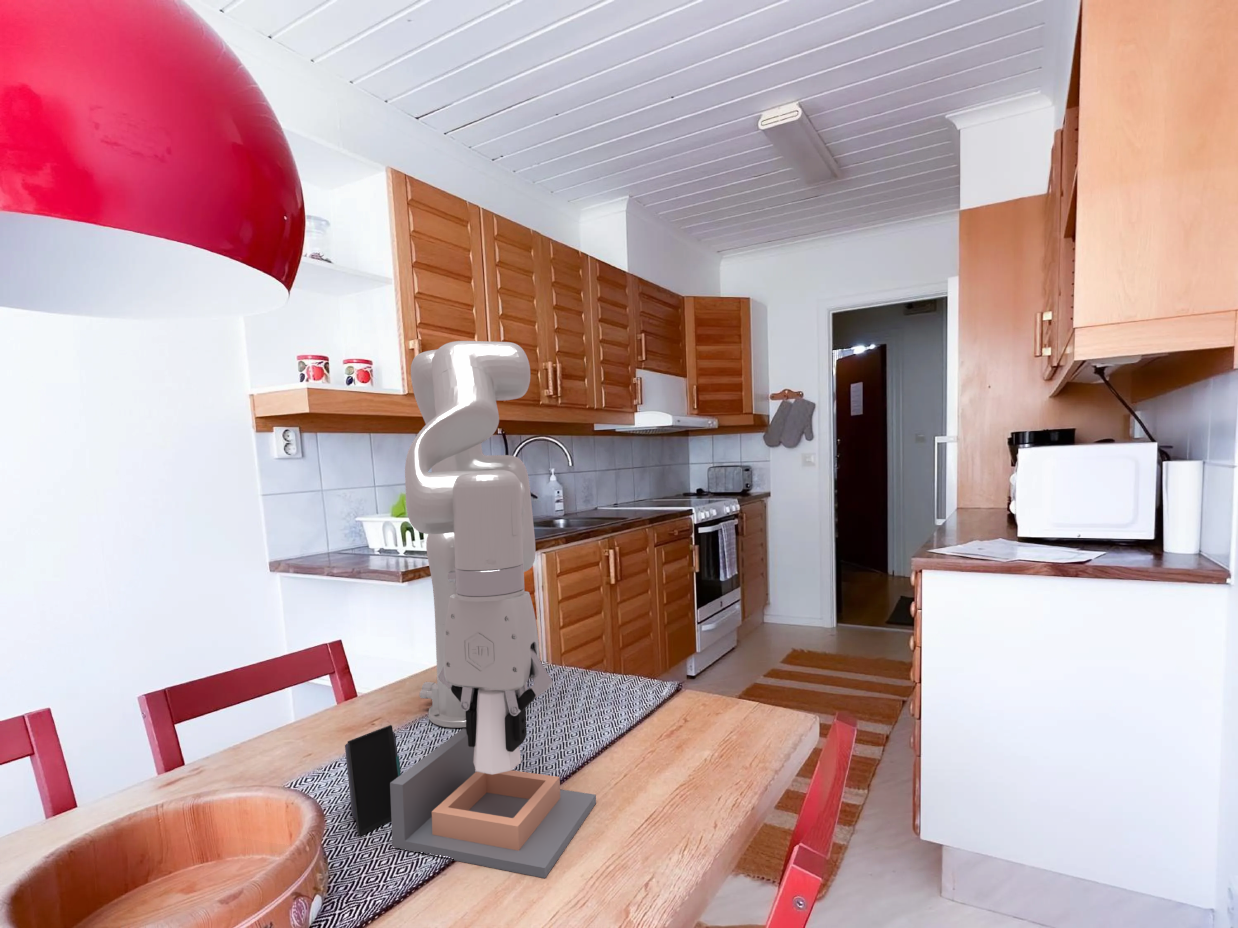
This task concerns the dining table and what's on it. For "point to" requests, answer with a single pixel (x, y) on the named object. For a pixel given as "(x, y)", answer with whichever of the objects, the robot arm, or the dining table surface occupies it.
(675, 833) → the dining table surface
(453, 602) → the robot arm
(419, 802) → the gray walled base stand
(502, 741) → the salt shaker
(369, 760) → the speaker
